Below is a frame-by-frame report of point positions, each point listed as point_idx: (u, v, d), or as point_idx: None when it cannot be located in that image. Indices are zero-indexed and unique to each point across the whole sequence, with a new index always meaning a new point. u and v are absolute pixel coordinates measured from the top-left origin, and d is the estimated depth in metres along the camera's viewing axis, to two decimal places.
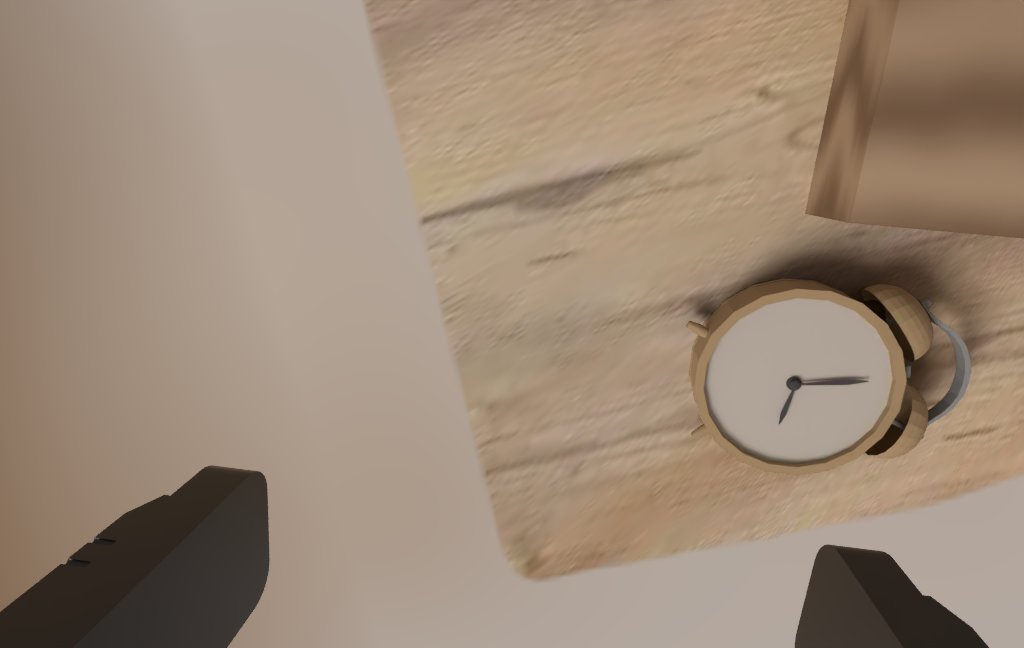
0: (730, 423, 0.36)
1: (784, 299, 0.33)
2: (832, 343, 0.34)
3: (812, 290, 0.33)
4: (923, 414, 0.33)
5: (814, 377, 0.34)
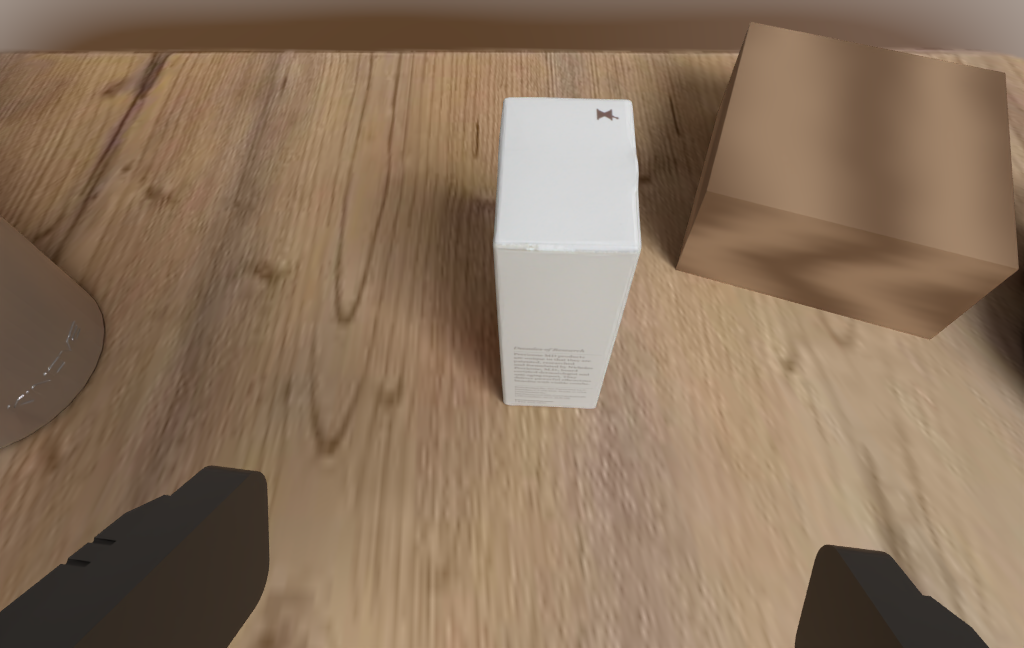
0: None
1: None
2: None
3: None
4: None
5: None
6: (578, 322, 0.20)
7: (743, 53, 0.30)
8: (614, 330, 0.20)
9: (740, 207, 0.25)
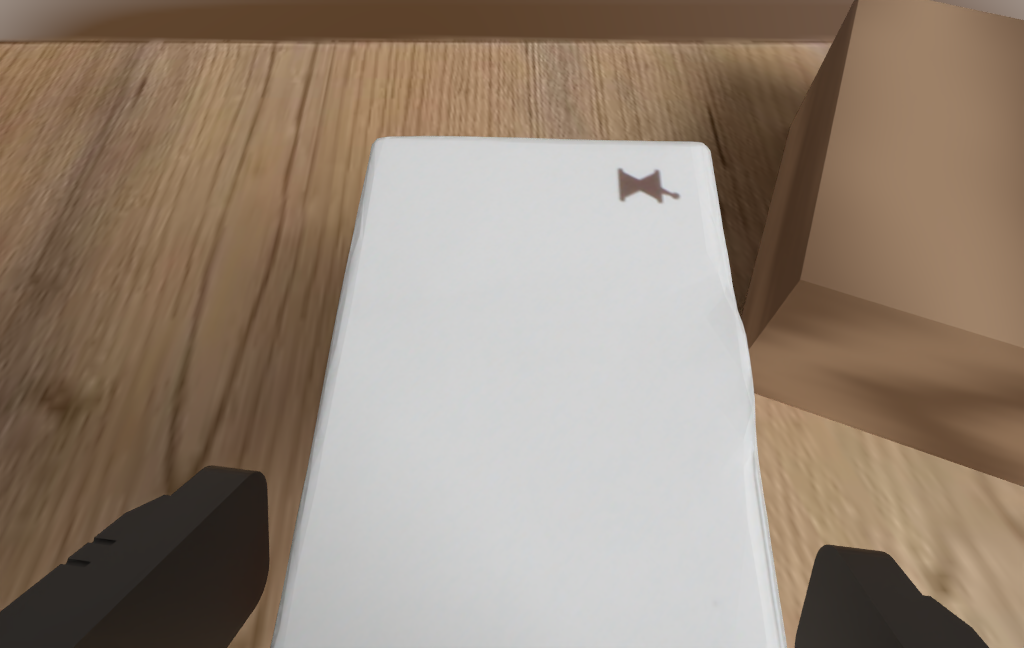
0: None
1: None
2: None
3: None
4: None
5: None
6: None
7: (853, 35, 0.18)
8: None
9: (862, 312, 0.14)
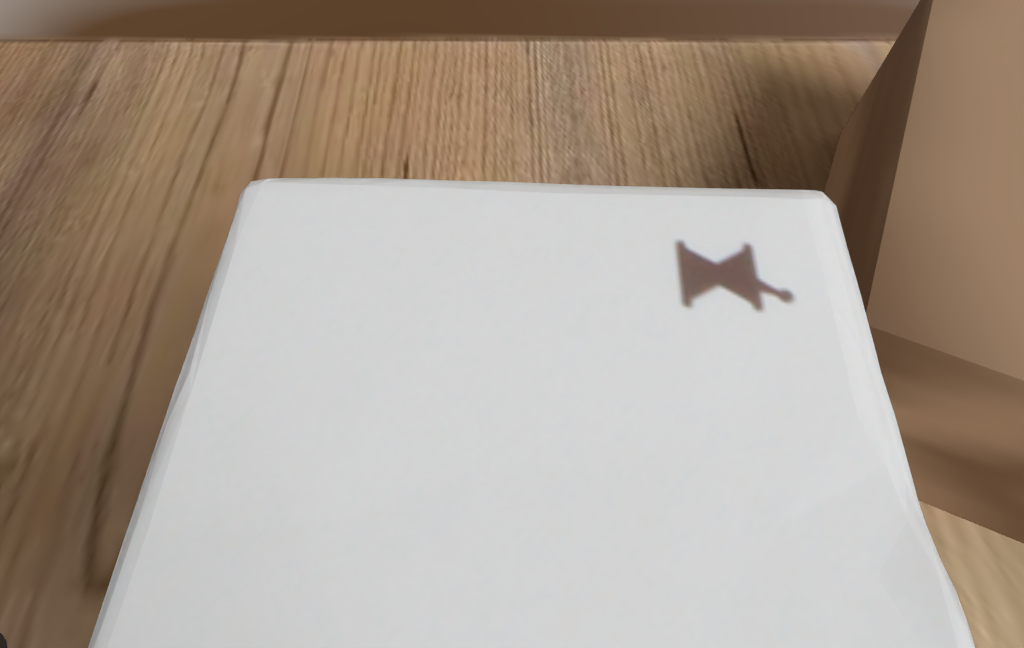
0: None
1: None
2: None
3: None
4: None
5: None
6: None
7: (930, 24, 0.15)
8: None
9: (941, 368, 0.11)
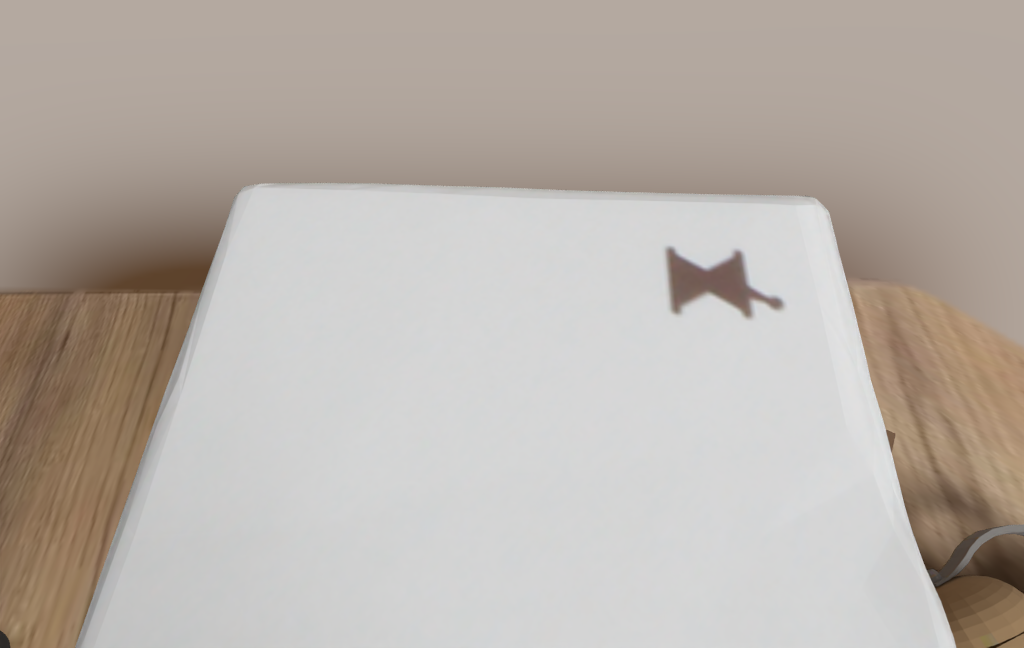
0: None
1: None
2: None
3: None
4: None
5: None
6: None
7: None
8: None
9: None
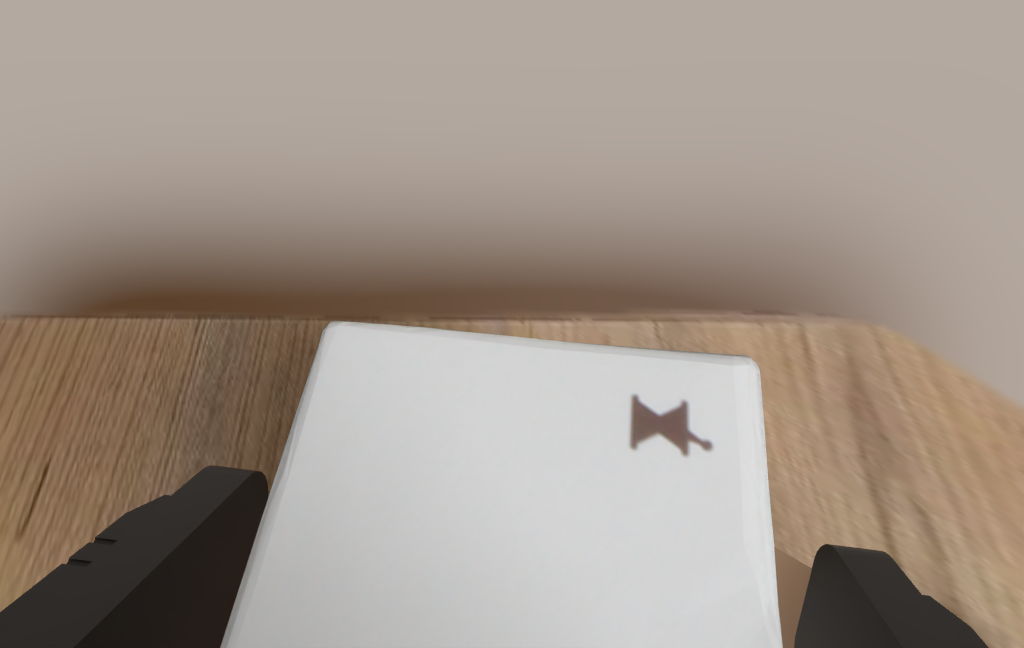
0: None
1: None
2: None
3: None
4: None
5: None
6: None
7: None
8: None
9: None
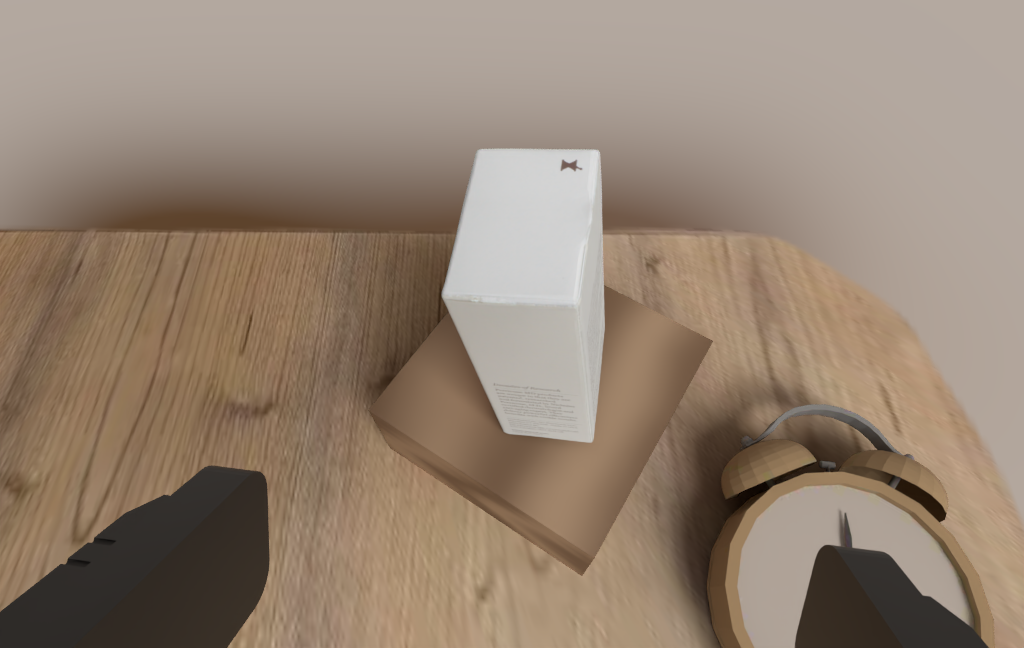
0: None
1: (738, 602, 0.26)
2: (796, 548, 0.28)
3: (728, 566, 0.27)
4: (885, 457, 0.29)
5: None
6: (544, 365, 0.20)
7: None
8: (582, 374, 0.20)
9: (396, 430, 0.28)
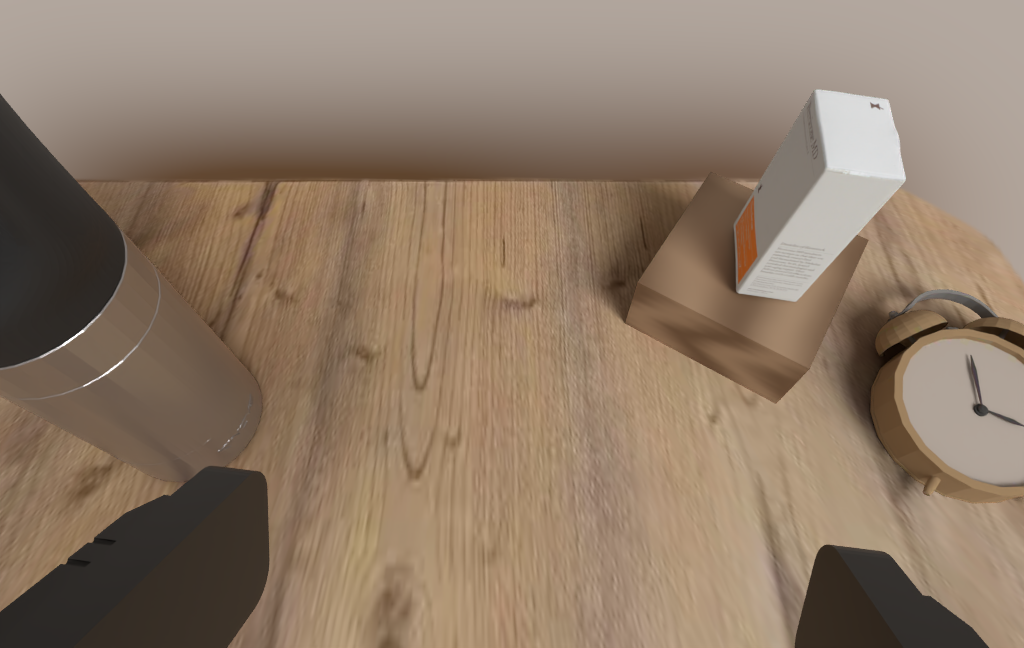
0: None
1: (904, 408, 0.39)
2: (938, 377, 0.40)
3: (894, 386, 0.40)
4: (996, 319, 0.41)
5: (972, 393, 0.40)
6: (836, 227, 0.33)
7: (696, 193, 0.45)
8: (854, 235, 0.34)
9: (657, 296, 0.41)
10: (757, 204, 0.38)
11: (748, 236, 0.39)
